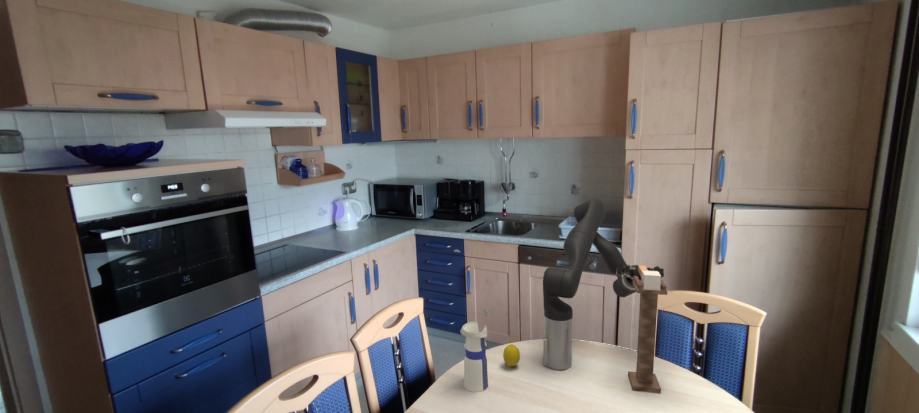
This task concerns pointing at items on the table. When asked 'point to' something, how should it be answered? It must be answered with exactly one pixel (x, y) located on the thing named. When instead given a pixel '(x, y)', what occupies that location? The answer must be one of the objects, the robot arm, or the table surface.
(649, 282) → the plug rod
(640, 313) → the tall stand
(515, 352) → the lemon
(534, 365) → the table surface
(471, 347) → the white and blue pitcher
